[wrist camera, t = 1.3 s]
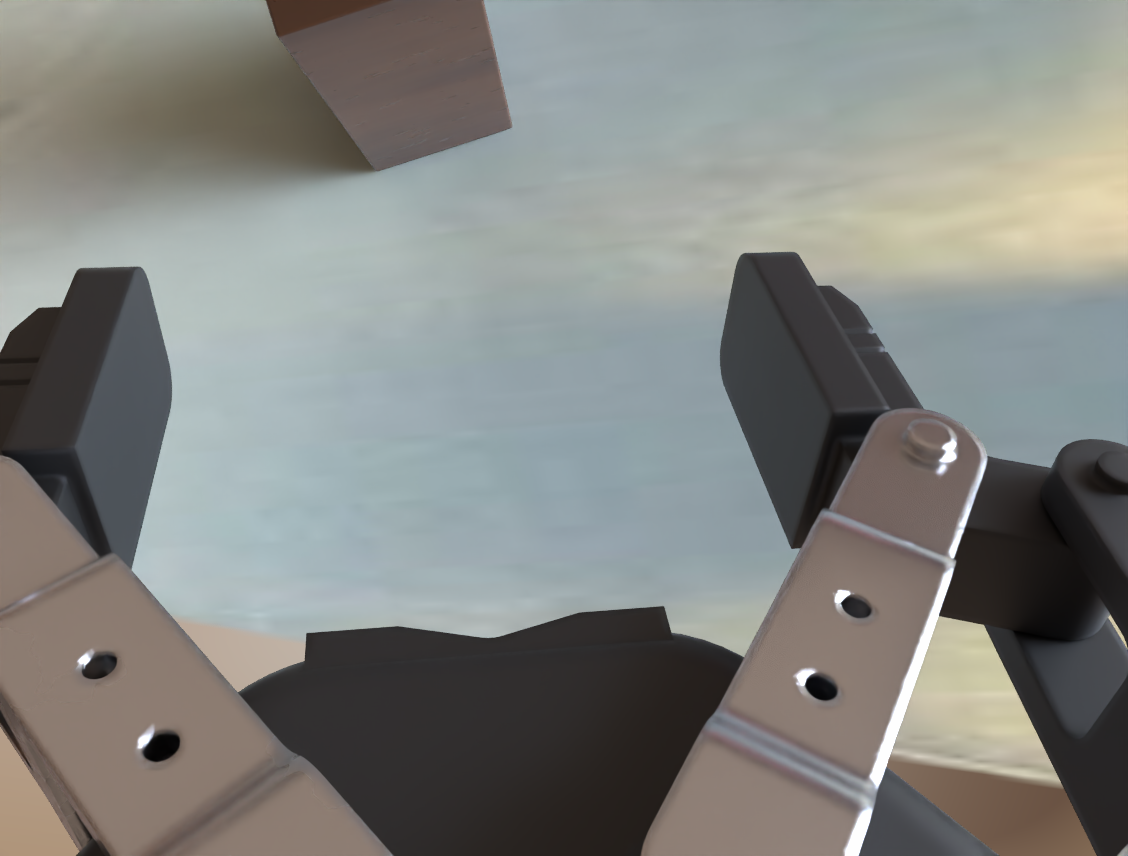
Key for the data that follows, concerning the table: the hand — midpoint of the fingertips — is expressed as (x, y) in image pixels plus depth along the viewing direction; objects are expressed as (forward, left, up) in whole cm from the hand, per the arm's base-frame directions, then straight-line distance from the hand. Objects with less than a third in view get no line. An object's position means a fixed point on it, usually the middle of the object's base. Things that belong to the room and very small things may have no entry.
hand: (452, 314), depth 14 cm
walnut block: (-9, -8, -20) cm, 24 cm away
